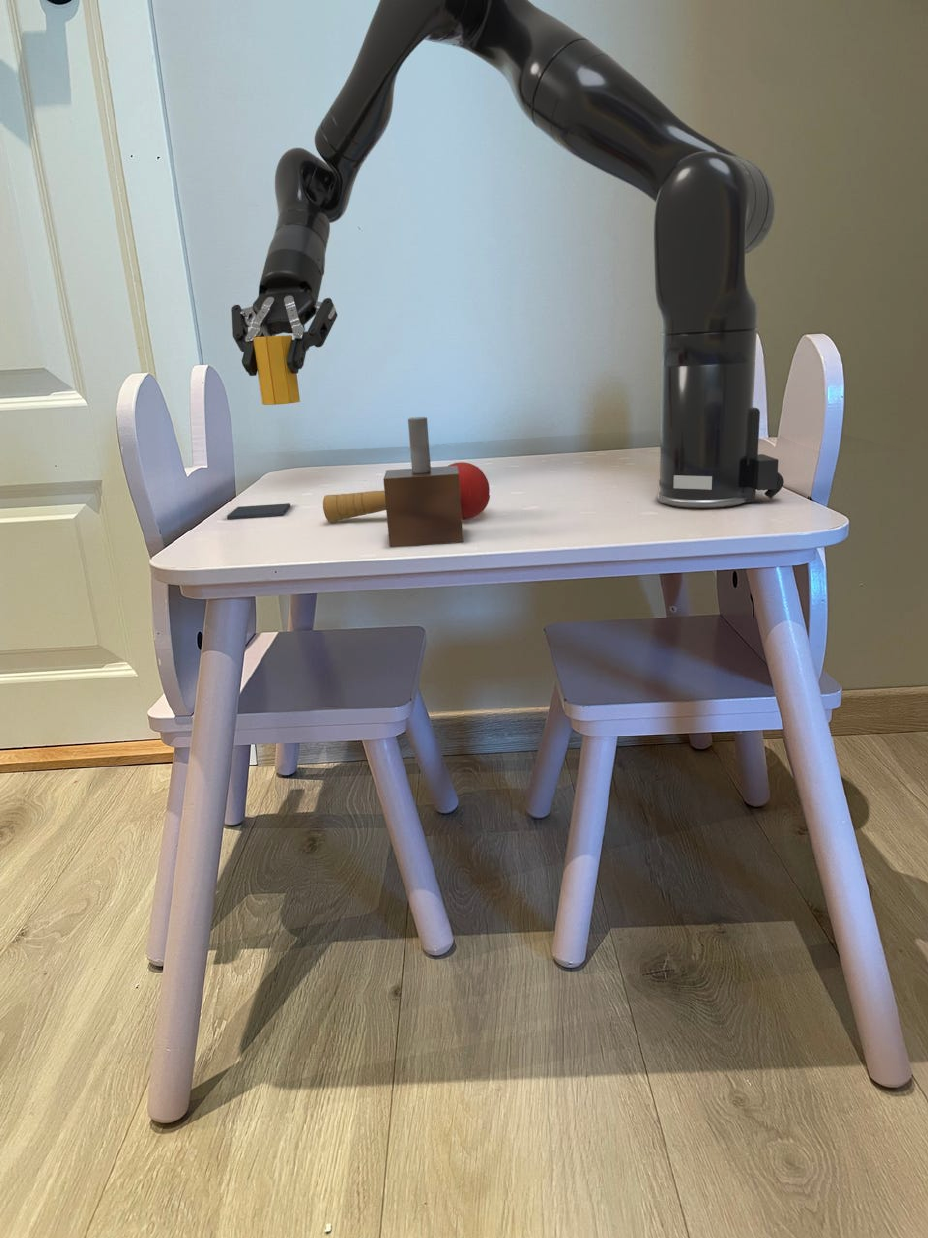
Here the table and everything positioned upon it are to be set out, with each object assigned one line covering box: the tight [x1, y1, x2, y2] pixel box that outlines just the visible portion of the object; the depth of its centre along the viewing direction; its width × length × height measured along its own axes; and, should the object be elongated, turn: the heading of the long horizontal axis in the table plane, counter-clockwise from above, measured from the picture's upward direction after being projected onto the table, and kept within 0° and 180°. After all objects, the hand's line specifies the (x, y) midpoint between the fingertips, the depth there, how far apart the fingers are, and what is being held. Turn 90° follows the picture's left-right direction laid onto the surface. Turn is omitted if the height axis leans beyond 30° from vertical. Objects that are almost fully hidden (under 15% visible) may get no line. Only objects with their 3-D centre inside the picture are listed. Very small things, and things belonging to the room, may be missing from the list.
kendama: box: [322, 461, 491, 523], centre depth 88 cm, size 8×6×18 cm
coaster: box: [226, 502, 291, 520], centre depth 98 cm, size 6×6×1 cm
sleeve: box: [253, 334, 301, 406], centre depth 103 cm, size 5×5×8 cm
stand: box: [383, 416, 464, 548], centre depth 79 cm, size 7×5×12 cm
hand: (271, 369), depth 102 cm, fingers closed on sleeve, 5 cm apart
